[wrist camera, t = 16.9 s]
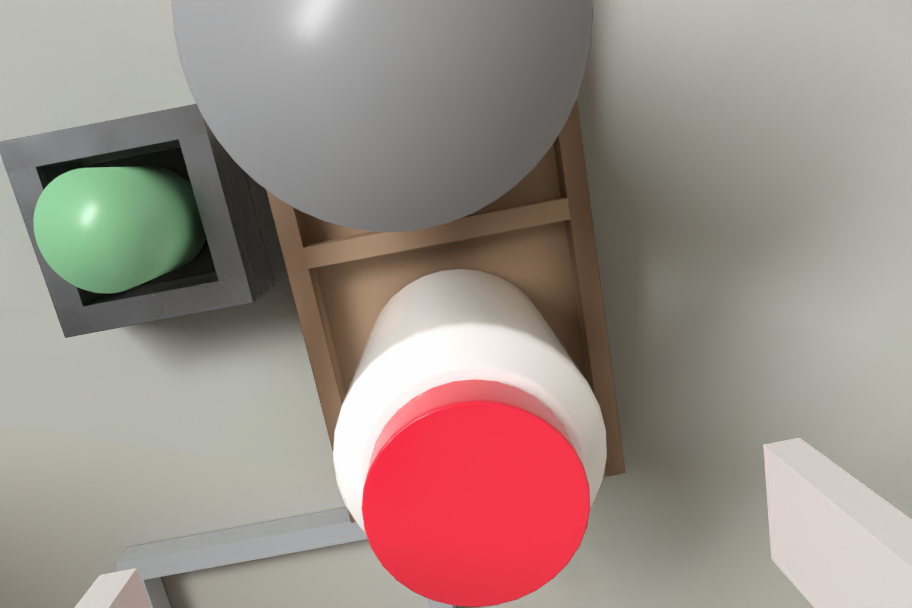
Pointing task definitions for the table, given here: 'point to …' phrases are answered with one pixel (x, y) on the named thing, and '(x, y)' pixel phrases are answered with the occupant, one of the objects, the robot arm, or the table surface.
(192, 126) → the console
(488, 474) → the pill bottle
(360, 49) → the seated part
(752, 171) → the table surface
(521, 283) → the brown divided tray
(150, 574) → the tray
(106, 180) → the button
